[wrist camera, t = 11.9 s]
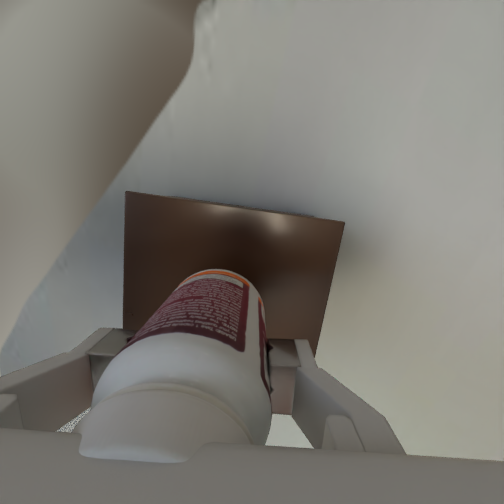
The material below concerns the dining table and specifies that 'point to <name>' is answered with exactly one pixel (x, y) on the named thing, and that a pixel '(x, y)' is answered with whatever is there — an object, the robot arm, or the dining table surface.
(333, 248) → the walnut box
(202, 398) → the pill bottle
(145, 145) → the dining table surface
